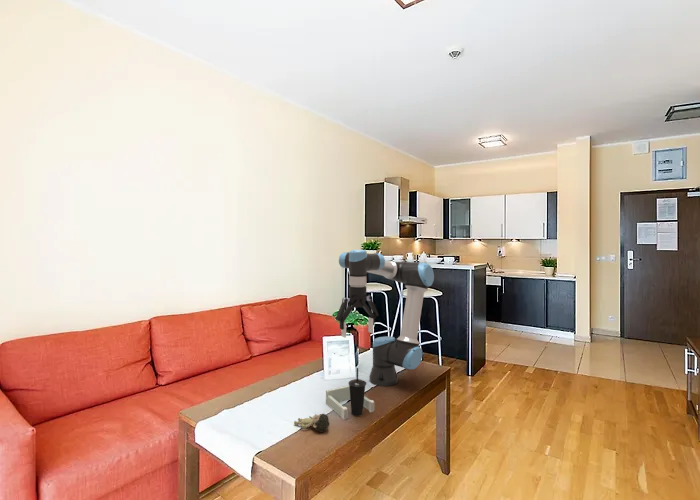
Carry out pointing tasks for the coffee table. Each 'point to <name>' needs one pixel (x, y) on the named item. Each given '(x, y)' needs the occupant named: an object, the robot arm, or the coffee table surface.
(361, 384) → the drinking cup
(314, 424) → the figurine
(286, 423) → the coffee table surface
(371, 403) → the bay
